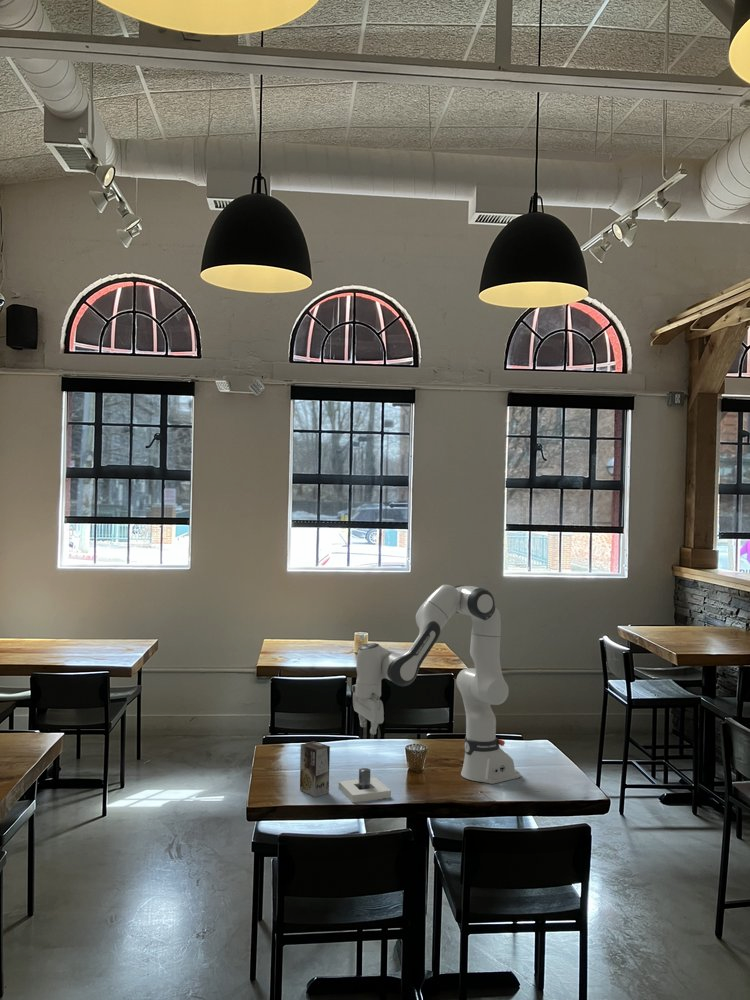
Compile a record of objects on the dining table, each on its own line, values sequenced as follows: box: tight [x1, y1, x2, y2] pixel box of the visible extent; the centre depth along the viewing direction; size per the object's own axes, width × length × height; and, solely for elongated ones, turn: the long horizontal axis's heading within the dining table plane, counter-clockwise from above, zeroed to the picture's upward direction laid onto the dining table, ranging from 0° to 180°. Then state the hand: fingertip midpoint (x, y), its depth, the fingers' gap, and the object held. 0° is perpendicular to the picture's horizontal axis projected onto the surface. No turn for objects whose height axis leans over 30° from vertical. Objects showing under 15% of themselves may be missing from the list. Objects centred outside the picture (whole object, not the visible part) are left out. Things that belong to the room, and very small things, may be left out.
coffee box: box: [299, 740, 331, 798], centre depth 260 cm, size 9×6×16 cm
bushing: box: [358, 767, 372, 790], centre depth 260 cm, size 4×4×8 cm
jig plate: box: [338, 776, 392, 803], centre depth 260 cm, size 14×14×2 cm
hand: (368, 730), depth 261 cm, fingers open, 8 cm apart
